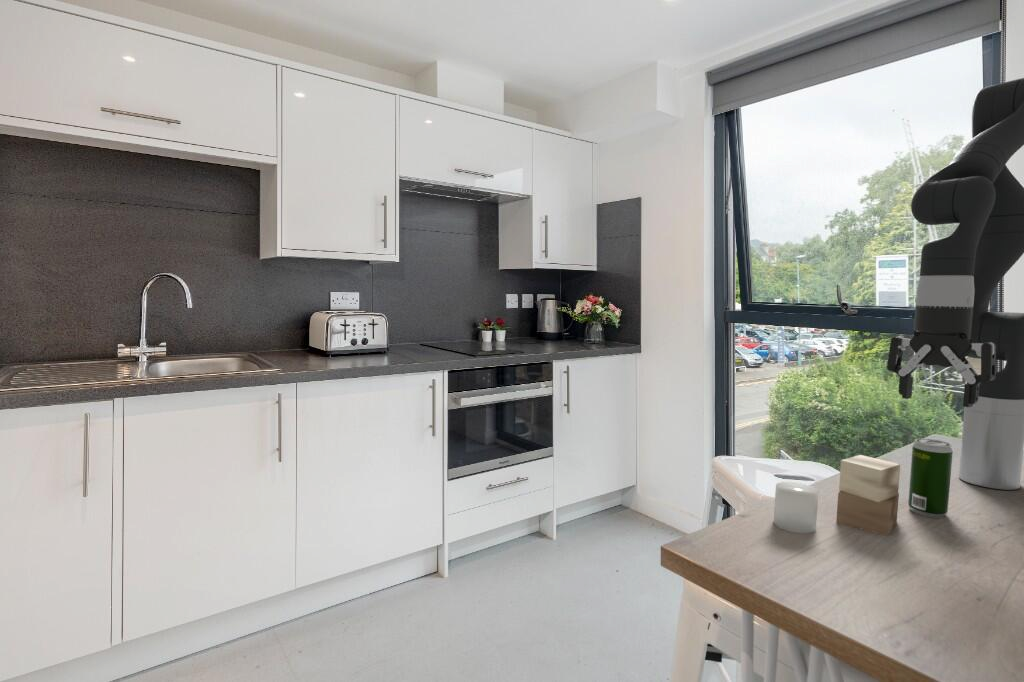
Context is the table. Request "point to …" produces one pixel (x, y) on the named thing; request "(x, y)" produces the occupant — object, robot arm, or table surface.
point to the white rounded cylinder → (796, 507)
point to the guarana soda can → (930, 477)
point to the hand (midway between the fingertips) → (935, 402)
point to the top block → (869, 478)
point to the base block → (867, 512)
